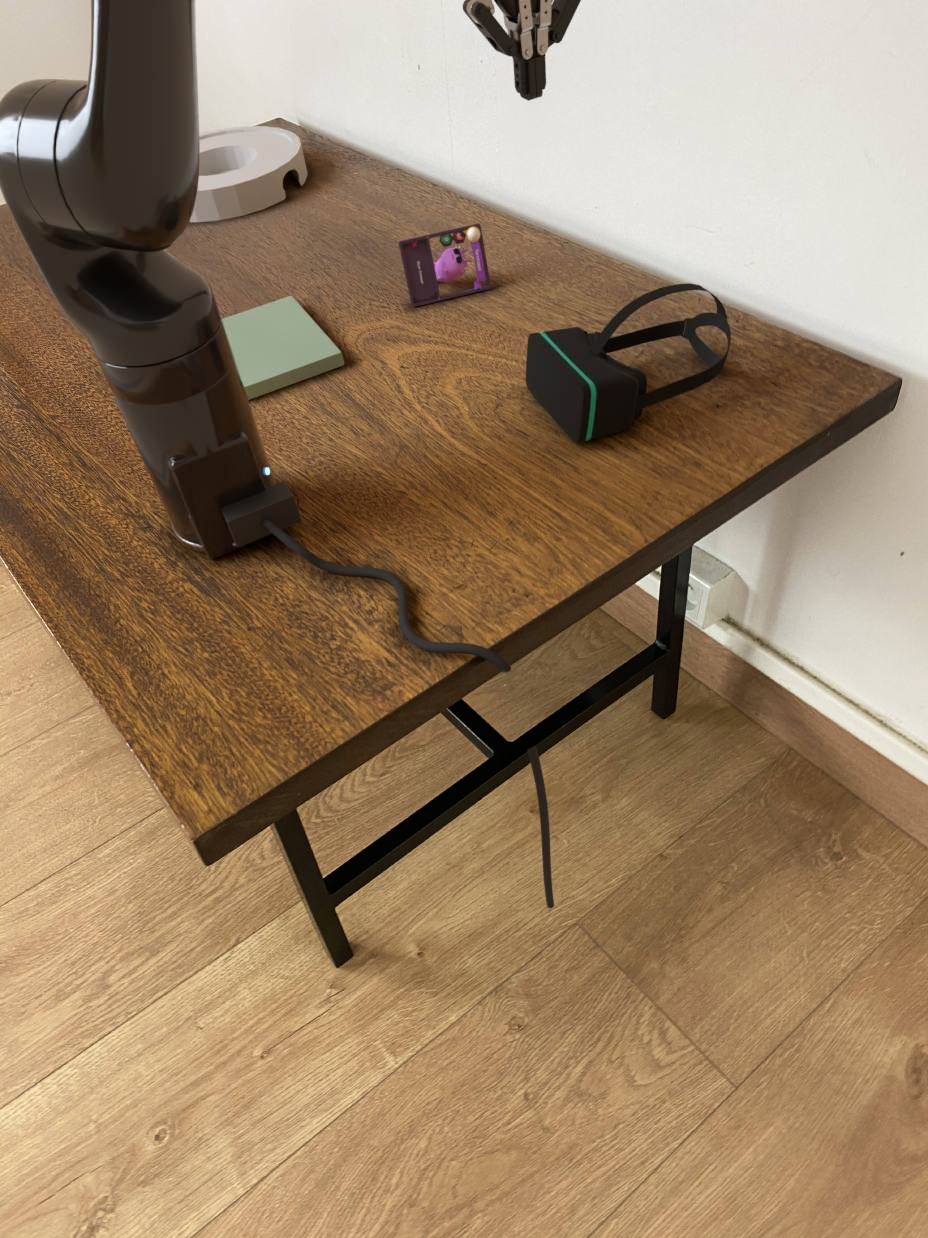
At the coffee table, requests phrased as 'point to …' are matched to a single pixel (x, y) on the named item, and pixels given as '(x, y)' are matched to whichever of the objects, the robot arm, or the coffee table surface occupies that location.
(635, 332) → the virtual reality headset
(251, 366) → the notebook
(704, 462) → the coffee table surface
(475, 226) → the game card
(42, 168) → the robot arm
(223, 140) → the white notched ring
